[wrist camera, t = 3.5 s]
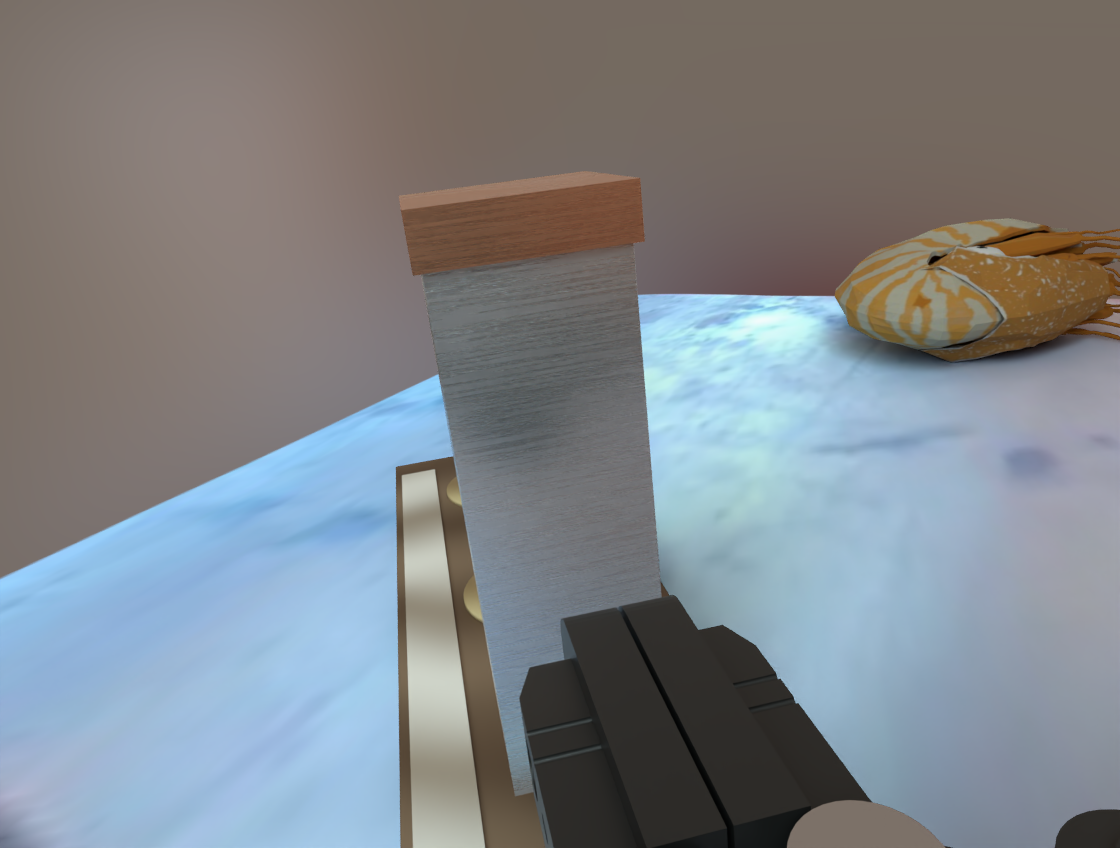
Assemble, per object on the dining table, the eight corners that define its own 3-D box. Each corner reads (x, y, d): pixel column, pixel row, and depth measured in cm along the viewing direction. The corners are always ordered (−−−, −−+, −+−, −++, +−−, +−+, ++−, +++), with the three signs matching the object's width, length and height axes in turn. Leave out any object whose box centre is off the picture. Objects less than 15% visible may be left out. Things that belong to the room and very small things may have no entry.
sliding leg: (496, 729, 20) (398, 196, 15) (637, 696, 21) (584, 171, 16) (518, 852, 17) (401, 209, 12) (686, 809, 17) (640, 178, 12)
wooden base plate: (401, 493, 39) (340, 200, 34) (573, 461, 41) (539, 173, 36) (417, 1087, 15) (202, 340, 9) (857, 953, 16) (881, 235, 11)
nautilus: (1190, 326, 51) (1257, 419, 39) (848, 308, 60) (816, 379, 48) (1225, 203, 48) (1309, 264, 36) (856, 203, 57) (825, 252, 45)
